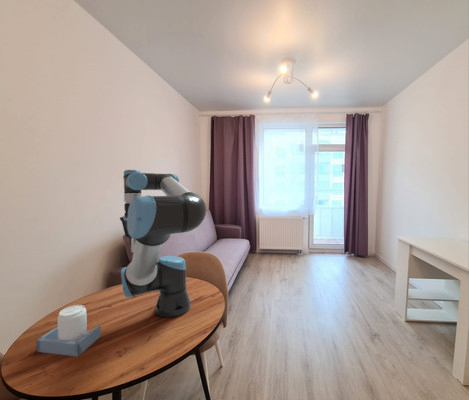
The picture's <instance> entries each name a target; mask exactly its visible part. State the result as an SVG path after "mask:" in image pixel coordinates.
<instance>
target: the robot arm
mask: <svg viewBox="0 0 469 400" xmlns="http://www.w3.org/2000/svg"><path fill="white" fill-rule="evenodd" d="M142 190H143V191H152V190H153V191H162V192H163V193H164V194H165V195H145V196H143V195H142ZM123 198H124V199H123V202H124V215H123V216H122V217H121V216H120V217H119V220H120V221H121V224H122V229H123V232H124V235H125V237H126V238H128V239H129V245H131V246H130V251H131V252H130V253H133V254H132V259H131V262H130V263H129V264H128V265H127V266H125V267H122V268H121V270H120V276H121V277H120V279H121V285H122V291H123V296H124V297H125V298H132V297H134V298H135V297H136V296H140V295H143V294H146V293H152V292H155V291H159V293H158V298H157V300H156V303H155V313H156V315H158V316H159V317H163V318H175V317H178V316H181V315H183V314H186V313H187V312H188V311H190V309H191V299H190V296H189V293H188V291H187V264H186V259H184V258H183V257H181V256H177V255H176V256H175V255H164V256H161V257H159V256H160V253H161V249H162V246H163V245H164V244H165V243H166V242H168V240H169V239H170V237H171V235H173V234H181V233H182V234H183V233H189V232H192V231H193V230H196V229H197V228H198V227H200V225H202V223H203V221H204V220H205V217H206V215H207V206H206V203H205V200H204V198H202V197H201V196H200V195H199V194H197V193H196V192H195V191H190V190H188V188H186V187H185V186H184V185H182V184H181V183H180V178H179V176H178V175H177V174H175V173H174V174H172V173H152V172H151V173H150V172H149V173H148V172H147V173H146V172H141V171H140V170H138V169H125V170H124V171H123Z"/></svg>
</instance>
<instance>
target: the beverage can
mask: <svg viewBox="0 0 469 400" xmlns="http://www.w3.org/2000/svg"><path fill="white" fill-rule="evenodd" d="M87 317H88V316H87V309H86V307H85V305H83V304H74V305H70V306H67V307H65V308H63V309H61V310H60V311H59V313H58V315H57V320H56V321H57V326H58V340H67V341H76V342H77V341H78V340H80V339H81V338H82V337H83V336H85V335H86V334H87V333H88V324H87V323H88V321H87Z"/></svg>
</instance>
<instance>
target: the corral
mask: <svg viewBox="0 0 469 400" xmlns="http://www.w3.org/2000/svg"><path fill="white" fill-rule="evenodd" d="M101 328H102V327H101V325H98V324H97V325H96V326H95V327H94V328H93V329H91V330H90V331H88V332H87V334H86V335H85V336H83V337H82V338H81V339H80V340H78V341H77V342H76V341H67V340H58V325H57V326H56V327H55V328H53V329H51V330H50V331H48V332H46V333H45V334H44V335H42V336H40V337H39V338H37V339H36V340H35V341H36V342H35V343H36V352H37V353H47V354H52V355H53V354H54V355H62V356H71V357H77V358H78V357H79V356H80V355H81V354H82V353H83V352H85V351H86V350H87V349H88V348H89V347H91V346H92V345H93V344H94V343H95V342H96V341H97V340H99V339H100V338H101V337H102V330H101Z"/></svg>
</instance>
